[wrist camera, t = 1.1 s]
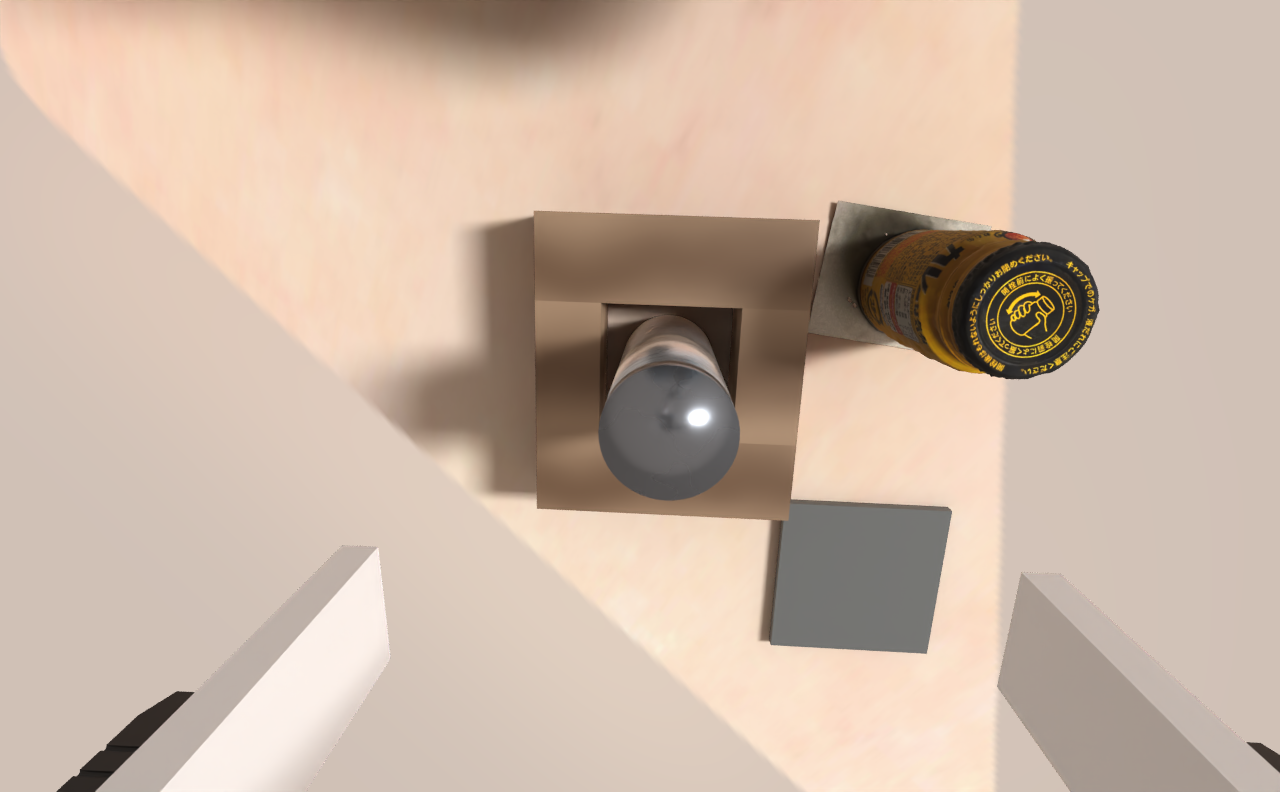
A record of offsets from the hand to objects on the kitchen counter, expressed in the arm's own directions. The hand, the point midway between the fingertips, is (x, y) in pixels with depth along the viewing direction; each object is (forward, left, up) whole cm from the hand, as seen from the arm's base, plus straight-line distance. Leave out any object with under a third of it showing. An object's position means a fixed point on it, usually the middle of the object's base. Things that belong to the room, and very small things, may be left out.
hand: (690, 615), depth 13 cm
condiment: (-5, +12, -25) cm, 28 cm away
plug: (0, 0, -24) cm, 24 cm away
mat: (+13, +12, -24) cm, 30 cm away
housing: (0, 0, -24) cm, 24 cm away
